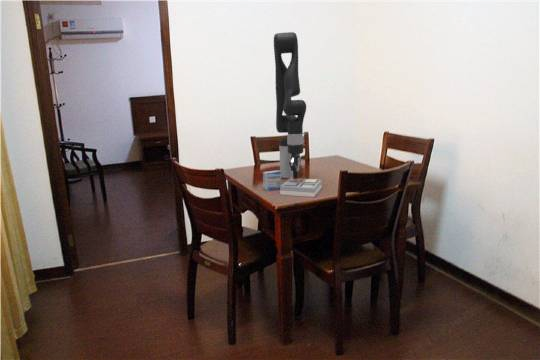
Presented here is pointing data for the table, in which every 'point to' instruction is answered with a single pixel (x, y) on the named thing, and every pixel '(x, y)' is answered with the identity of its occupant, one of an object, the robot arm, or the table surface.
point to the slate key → (291, 184)
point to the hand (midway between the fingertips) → (295, 178)
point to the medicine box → (272, 180)
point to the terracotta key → (296, 180)
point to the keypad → (301, 189)
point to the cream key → (311, 181)
